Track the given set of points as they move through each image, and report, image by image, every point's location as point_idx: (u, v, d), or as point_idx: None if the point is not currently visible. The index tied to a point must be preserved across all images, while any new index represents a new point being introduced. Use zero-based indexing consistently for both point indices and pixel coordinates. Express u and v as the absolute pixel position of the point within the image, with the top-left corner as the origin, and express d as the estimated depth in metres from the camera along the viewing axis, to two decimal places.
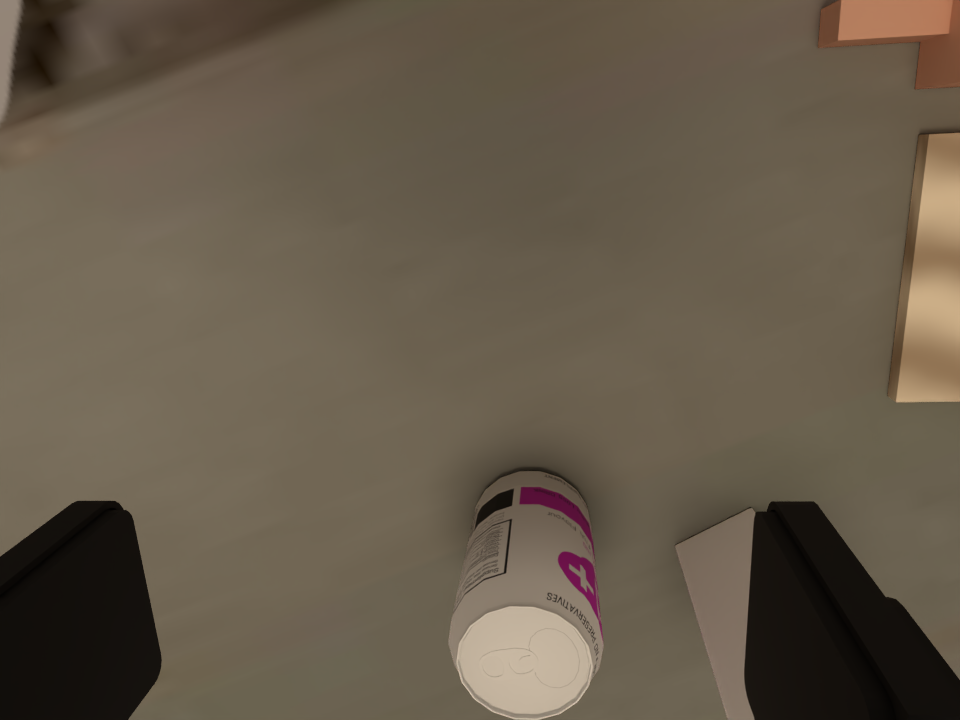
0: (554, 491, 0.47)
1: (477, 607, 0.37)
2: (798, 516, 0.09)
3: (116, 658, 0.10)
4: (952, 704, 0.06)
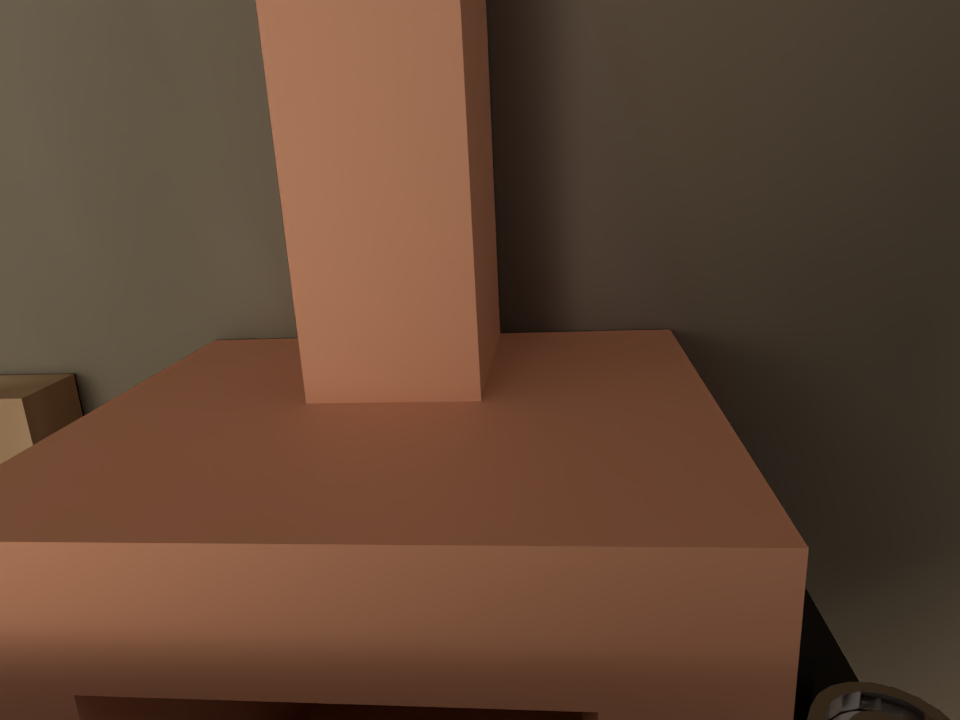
0: None
1: None
2: None
3: None
4: None
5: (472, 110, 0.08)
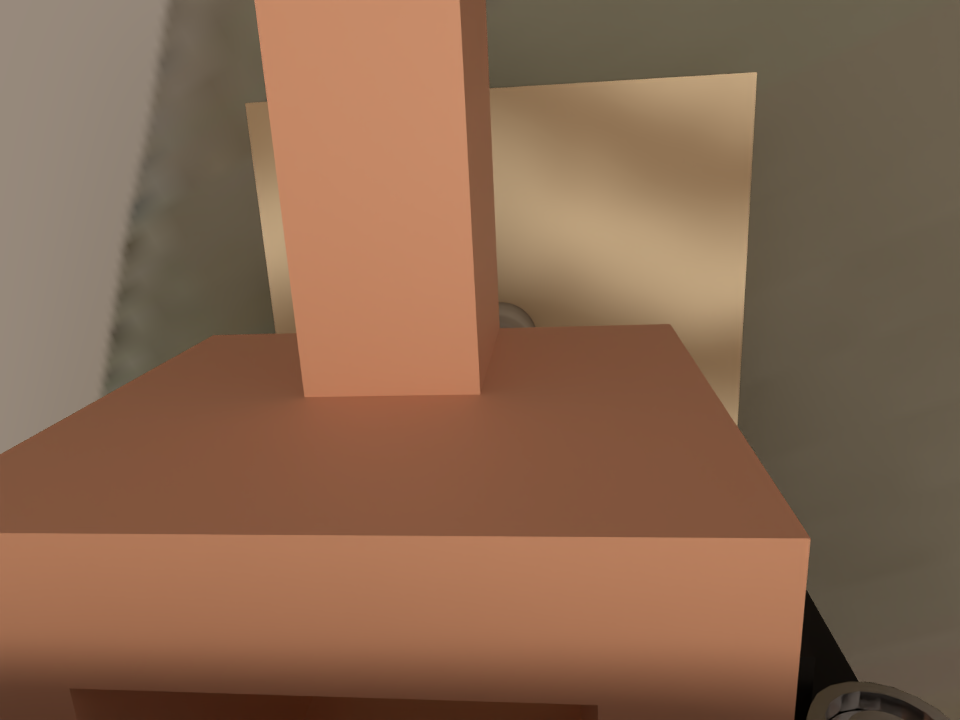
0: None
1: None
2: None
3: None
4: None
5: (471, 101, 0.08)
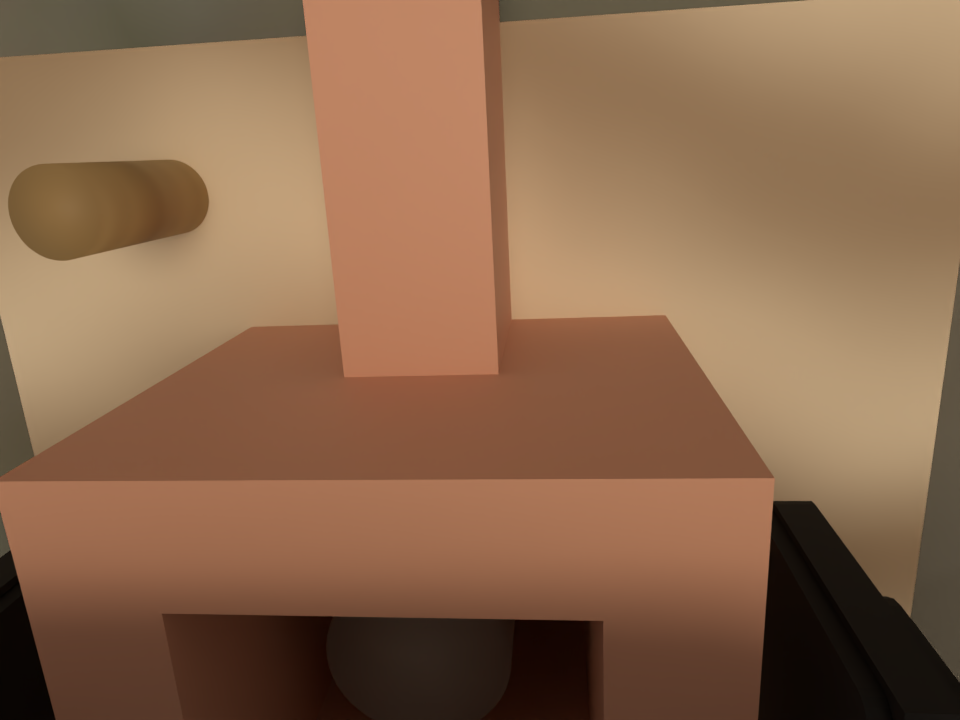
0: None
1: None
2: (795, 515, 0.09)
3: None
4: (948, 702, 0.06)
5: (490, 119, 0.09)
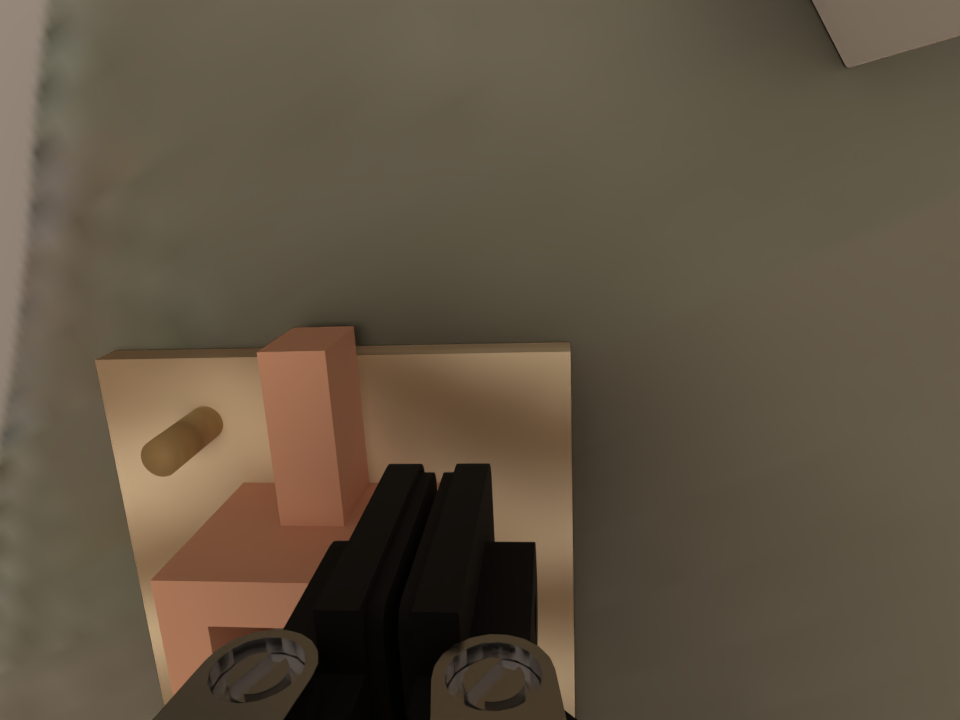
0: None
1: None
2: (464, 474, 0.11)
3: None
4: (448, 604, 0.08)
5: (340, 423, 0.21)
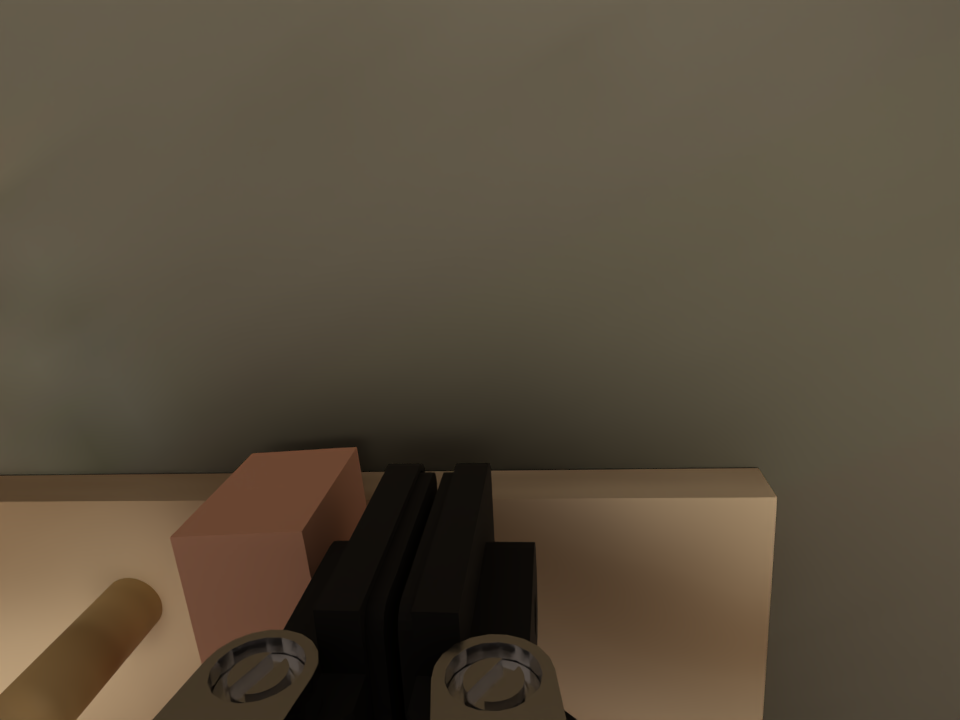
0: None
1: None
2: (464, 474, 0.11)
3: None
4: (447, 604, 0.08)
5: None
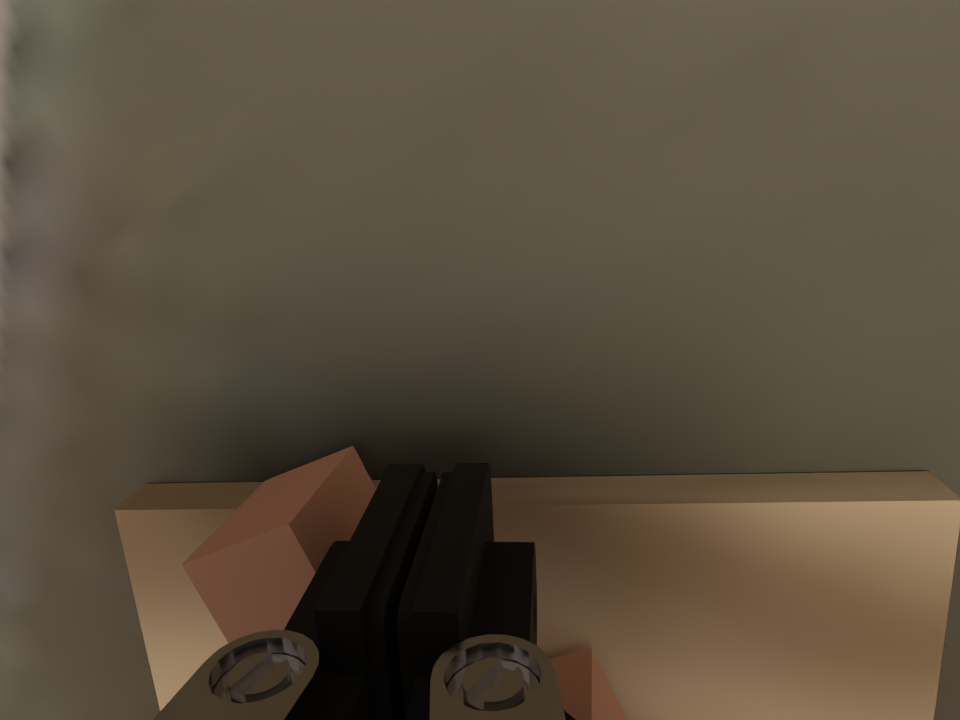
0: None
1: None
2: (464, 474, 0.11)
3: None
4: (447, 604, 0.08)
5: None
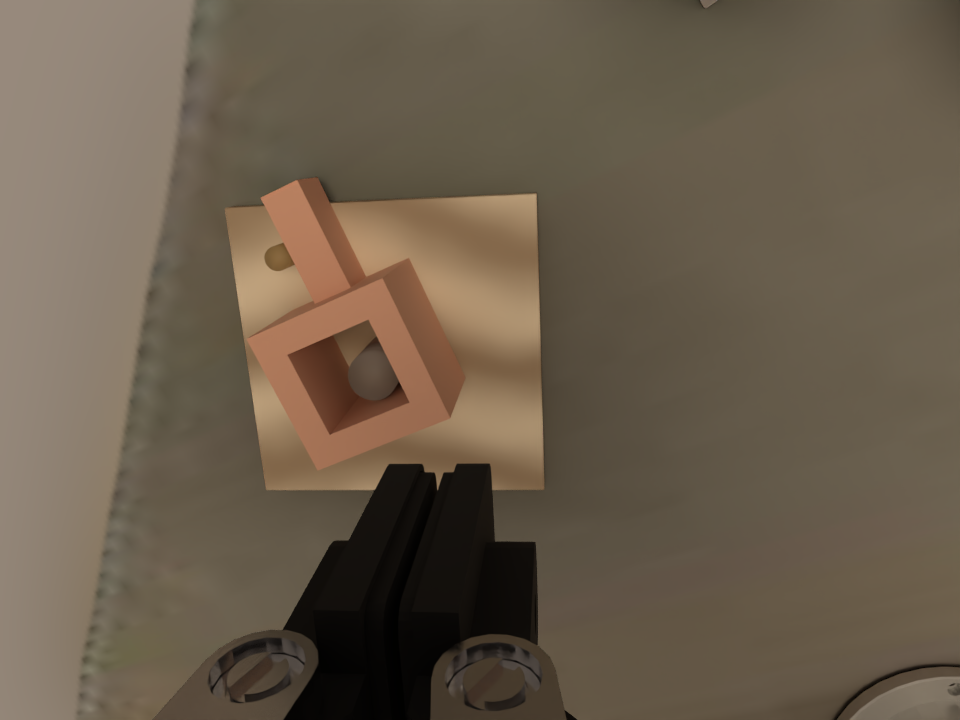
0: None
1: None
2: (464, 474, 0.11)
3: None
4: (448, 604, 0.08)
5: (325, 226, 0.34)
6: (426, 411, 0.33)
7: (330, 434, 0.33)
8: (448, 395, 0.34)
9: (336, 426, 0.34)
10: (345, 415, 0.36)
